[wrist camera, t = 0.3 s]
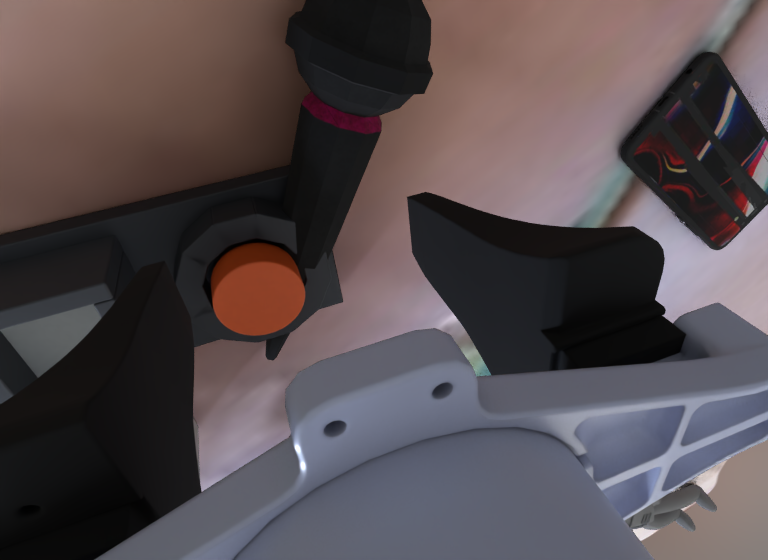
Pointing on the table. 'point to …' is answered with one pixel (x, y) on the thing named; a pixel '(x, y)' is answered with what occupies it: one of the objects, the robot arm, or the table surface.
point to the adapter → (193, 242)
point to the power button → (256, 289)
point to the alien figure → (671, 509)
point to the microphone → (345, 108)
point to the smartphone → (704, 152)
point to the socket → (55, 305)
